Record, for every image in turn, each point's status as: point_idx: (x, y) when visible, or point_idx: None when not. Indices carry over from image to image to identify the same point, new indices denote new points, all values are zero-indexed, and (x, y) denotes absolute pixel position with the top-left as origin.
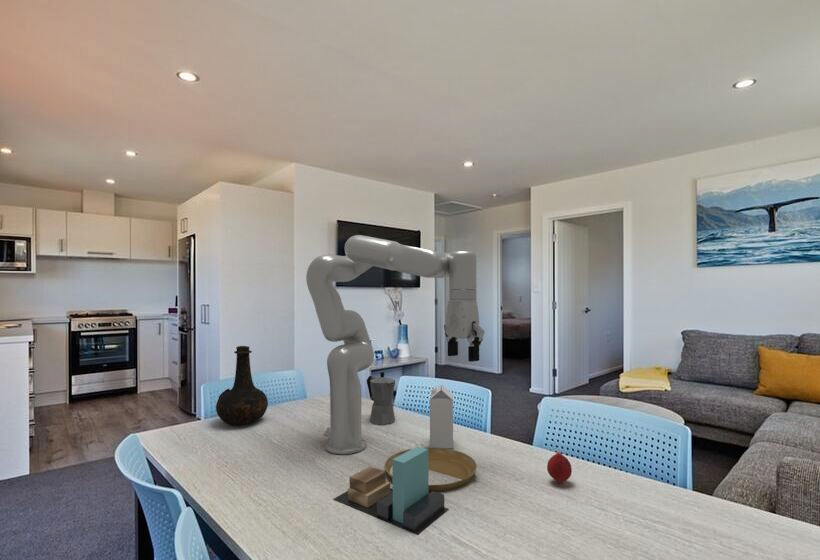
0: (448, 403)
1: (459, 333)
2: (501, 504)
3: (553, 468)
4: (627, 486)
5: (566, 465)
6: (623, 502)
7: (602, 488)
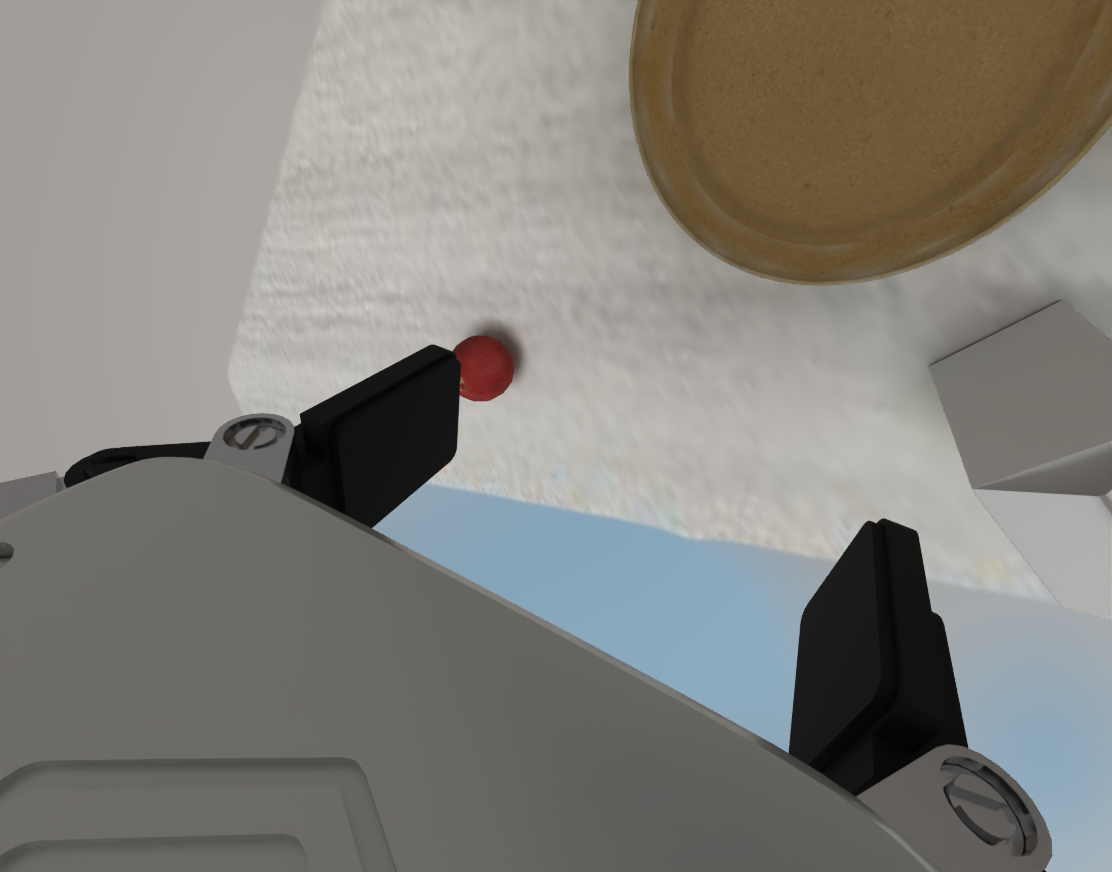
0: (1000, 463)
1: (227, 560)
2: (516, 111)
3: (471, 341)
4: None
5: None
6: (387, 356)
7: None
